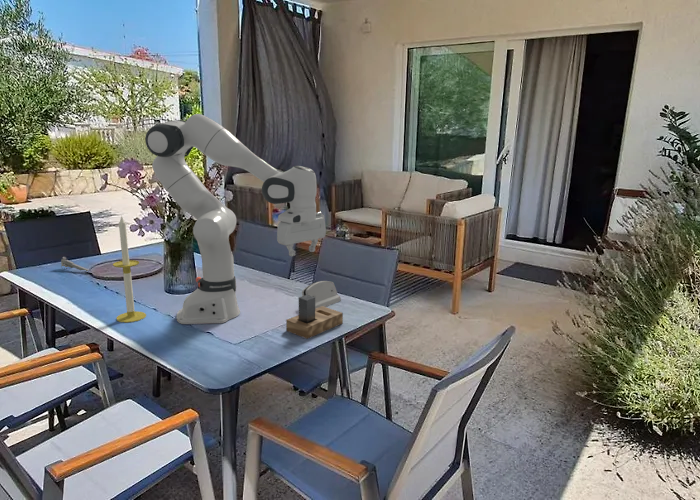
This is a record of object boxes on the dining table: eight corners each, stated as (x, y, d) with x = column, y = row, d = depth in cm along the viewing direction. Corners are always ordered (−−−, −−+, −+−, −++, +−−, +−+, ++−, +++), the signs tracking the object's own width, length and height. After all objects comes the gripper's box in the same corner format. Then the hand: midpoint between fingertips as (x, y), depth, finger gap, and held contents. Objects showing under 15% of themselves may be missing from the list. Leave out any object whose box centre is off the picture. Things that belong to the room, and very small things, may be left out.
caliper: (61, 269, 232) (60, 256, 230) (63, 268, 233) (62, 256, 231) (93, 275, 224) (91, 262, 223) (95, 274, 225) (93, 261, 224)
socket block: (307, 338, 161) (307, 327, 160) (286, 330, 167) (286, 319, 166) (342, 323, 174) (342, 312, 173) (322, 316, 180) (322, 306, 179)
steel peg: (307, 333, 165) (306, 300, 162) (298, 330, 167) (298, 297, 164) (315, 330, 168) (315, 297, 165) (307, 327, 170) (306, 294, 167)
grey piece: (312, 311, 185) (306, 286, 184) (304, 312, 188) (298, 287, 188) (341, 300, 197) (336, 276, 197) (333, 301, 200) (328, 278, 200)
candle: (131, 324, 169) (121, 218, 160) (109, 320, 173) (98, 216, 164) (152, 314, 179) (143, 214, 169) (130, 310, 182) (121, 211, 173)
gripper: (317, 210, 175) (316, 247, 179) (274, 216, 160) (274, 256, 164) (330, 212, 171) (329, 250, 175) (287, 219, 156) (286, 260, 160)
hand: (302, 253), depth 169 cm, fingers open, 8 cm apart
